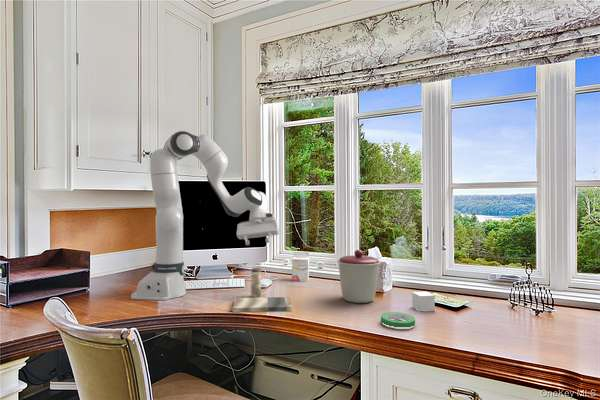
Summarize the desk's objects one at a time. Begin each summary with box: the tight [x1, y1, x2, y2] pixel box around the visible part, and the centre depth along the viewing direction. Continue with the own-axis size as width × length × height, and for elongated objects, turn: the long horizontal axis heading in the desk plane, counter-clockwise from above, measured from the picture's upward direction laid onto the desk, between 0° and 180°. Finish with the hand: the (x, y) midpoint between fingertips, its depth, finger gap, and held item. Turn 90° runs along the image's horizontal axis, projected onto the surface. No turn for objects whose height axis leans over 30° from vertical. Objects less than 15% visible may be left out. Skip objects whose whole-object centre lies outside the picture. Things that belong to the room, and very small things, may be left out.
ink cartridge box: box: [291, 251, 310, 282], centre depth 189 cm, size 9×5×15 cm, turn 84°
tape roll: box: [380, 311, 416, 327], centre depth 123 cm, size 11×11×3 cm
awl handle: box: [250, 267, 262, 298], centre depth 156 cm, size 4×4×12 cm
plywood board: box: [232, 296, 293, 313], centre depth 143 cm, size 22×14×2 cm, turn 95°
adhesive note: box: [411, 291, 436, 312], centre depth 140 cm, size 6×6×6 cm
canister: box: [336, 249, 381, 304], centre depth 152 cm, size 18×18×21 cm
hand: (257, 243), depth 167 cm, fingers open, 8 cm apart
